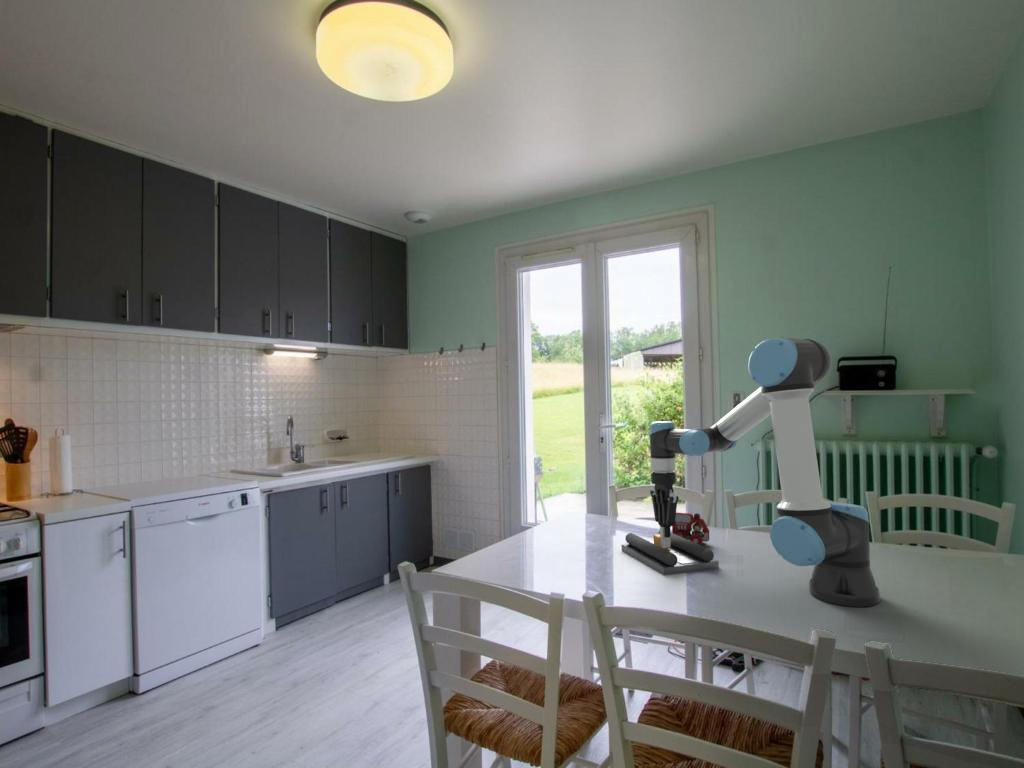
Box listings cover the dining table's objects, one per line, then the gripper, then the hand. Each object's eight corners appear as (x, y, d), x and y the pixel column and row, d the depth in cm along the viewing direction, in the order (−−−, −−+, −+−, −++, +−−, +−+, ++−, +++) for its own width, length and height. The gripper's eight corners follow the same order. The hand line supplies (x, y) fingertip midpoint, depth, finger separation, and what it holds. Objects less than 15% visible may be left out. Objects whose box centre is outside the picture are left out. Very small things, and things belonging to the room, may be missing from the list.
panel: (718, 567, 163) (718, 560, 163) (664, 575, 158) (663, 567, 158) (670, 544, 188) (669, 538, 188) (621, 550, 183) (621, 543, 183)
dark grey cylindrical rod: (716, 562, 162) (716, 549, 162) (705, 563, 161) (705, 551, 161) (665, 538, 188) (665, 528, 188) (656, 539, 187) (655, 529, 187)
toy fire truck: (708, 548, 183) (707, 516, 183) (669, 544, 188) (668, 513, 189) (710, 543, 189) (709, 512, 189) (673, 539, 195) (672, 509, 195)
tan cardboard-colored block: (670, 548, 175) (669, 535, 175) (658, 549, 174) (658, 537, 174) (664, 546, 178) (664, 533, 178) (653, 547, 177) (653, 534, 177)
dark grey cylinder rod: (680, 566, 158) (679, 554, 159) (669, 568, 158) (668, 555, 158) (633, 542, 185) (633, 531, 185) (623, 543, 184) (623, 532, 184)
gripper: (685, 473, 169) (688, 551, 168) (662, 467, 181) (664, 540, 181) (663, 474, 167) (666, 553, 166) (642, 469, 179) (644, 542, 179)
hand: (665, 546), depth 174 cm, fingers closed
